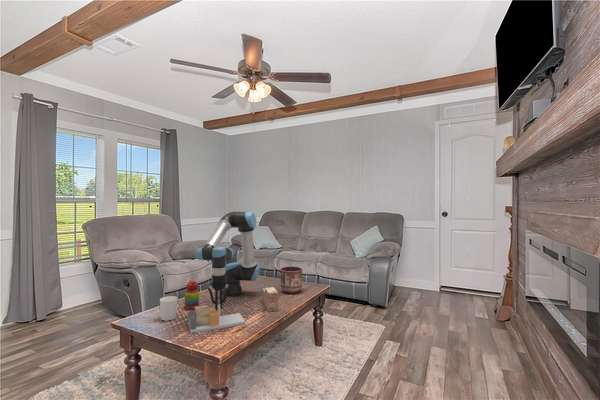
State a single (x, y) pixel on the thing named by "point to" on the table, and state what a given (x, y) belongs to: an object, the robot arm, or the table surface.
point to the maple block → (202, 315)
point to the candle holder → (168, 308)
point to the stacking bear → (191, 296)
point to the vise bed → (223, 322)
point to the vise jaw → (213, 317)
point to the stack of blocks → (270, 299)
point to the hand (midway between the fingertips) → (218, 315)
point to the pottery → (291, 279)
